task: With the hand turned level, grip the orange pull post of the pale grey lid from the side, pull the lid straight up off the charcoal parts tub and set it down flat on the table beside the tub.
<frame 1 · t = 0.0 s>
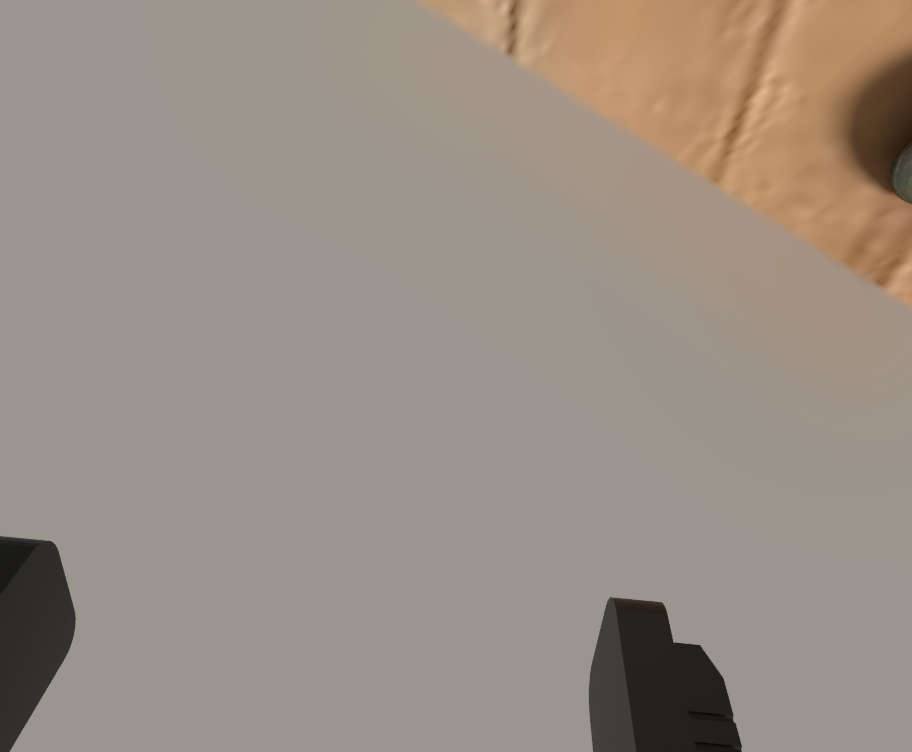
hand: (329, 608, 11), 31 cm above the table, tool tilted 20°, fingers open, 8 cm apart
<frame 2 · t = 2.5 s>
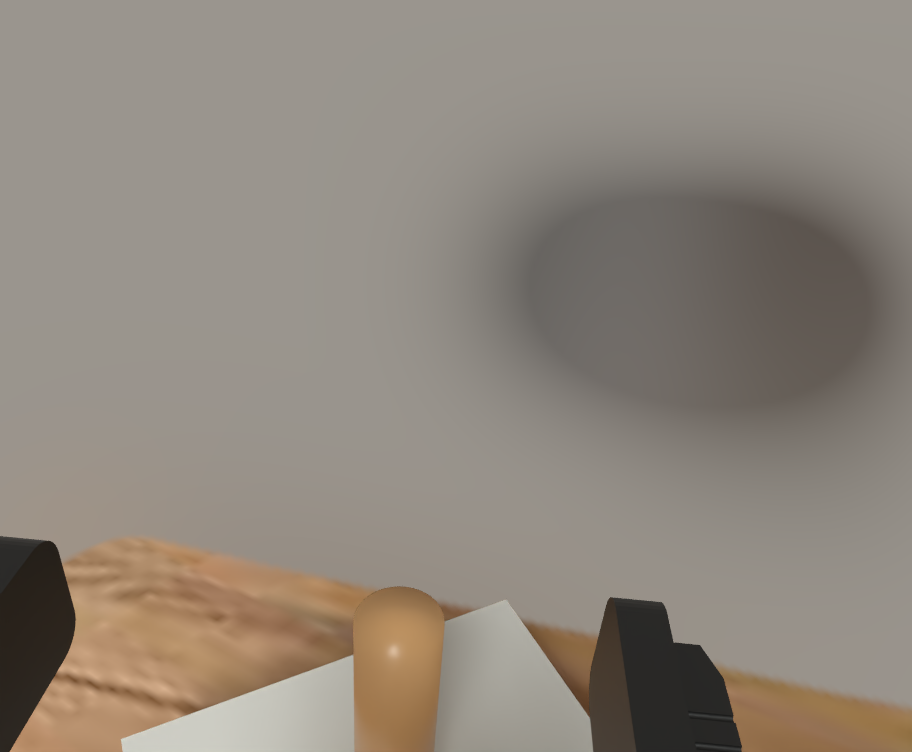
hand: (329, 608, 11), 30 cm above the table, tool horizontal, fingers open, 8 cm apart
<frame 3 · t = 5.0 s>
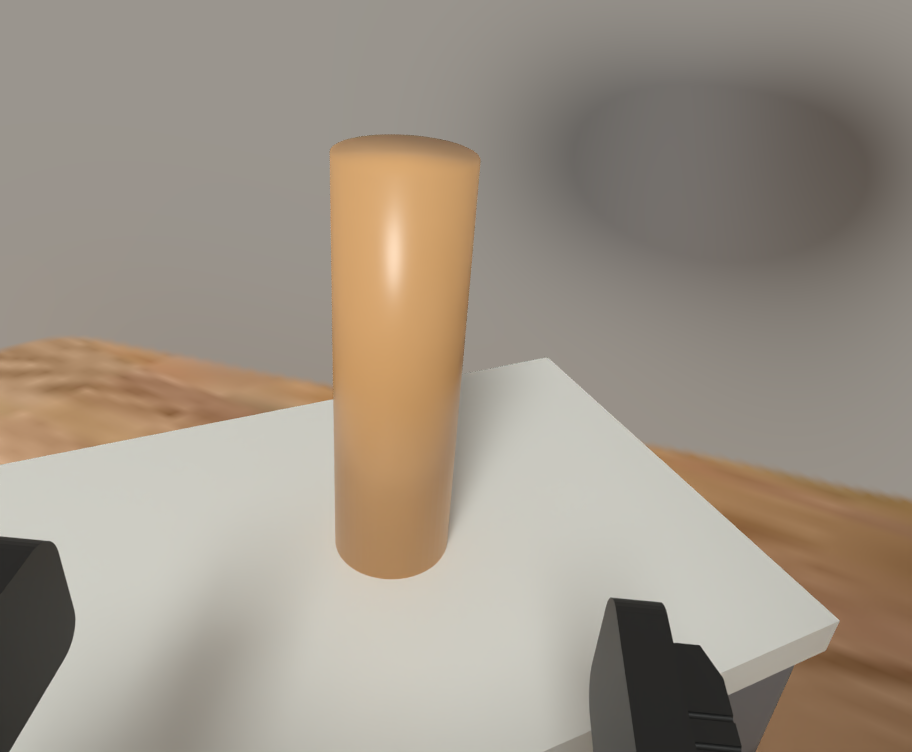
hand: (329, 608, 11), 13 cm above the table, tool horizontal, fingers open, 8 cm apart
tub lid: (390, 567, 23), point 5 cm above the table, touching parts tub
parts tub: (386, 677, 26), on the table
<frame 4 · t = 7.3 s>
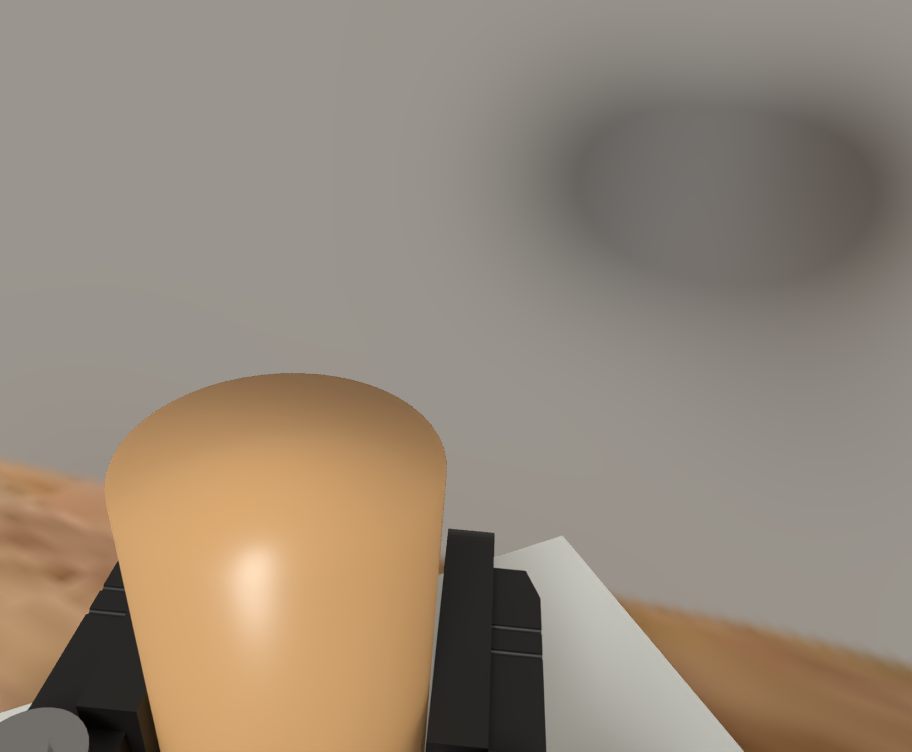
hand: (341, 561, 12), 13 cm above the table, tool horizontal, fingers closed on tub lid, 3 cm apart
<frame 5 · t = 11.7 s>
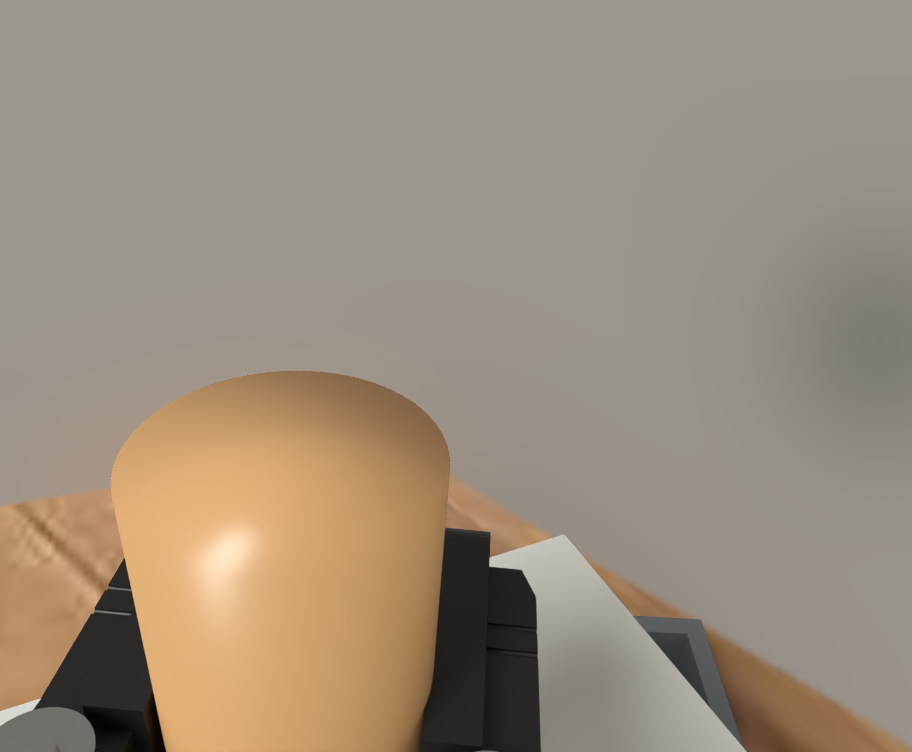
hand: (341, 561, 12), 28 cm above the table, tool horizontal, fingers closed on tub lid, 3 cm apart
when the fingers open (11 cm above the table, at t = 16.0 s): tub lid drops 2 cm, point 1 cm above the table.
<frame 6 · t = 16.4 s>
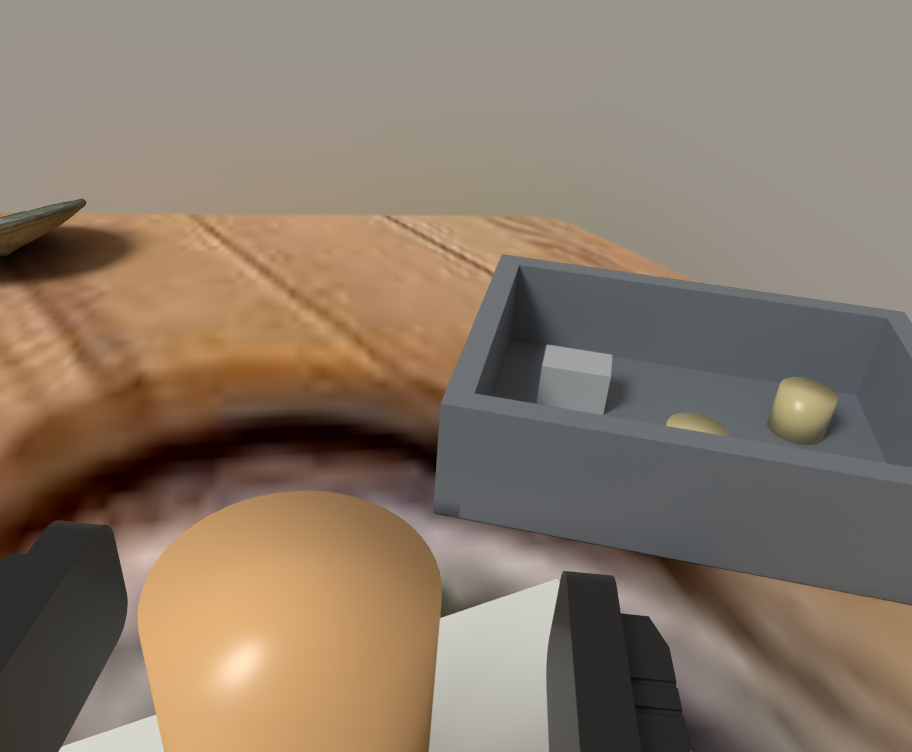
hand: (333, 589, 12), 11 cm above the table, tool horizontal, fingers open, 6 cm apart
parts tub: (679, 449, 34), on the table
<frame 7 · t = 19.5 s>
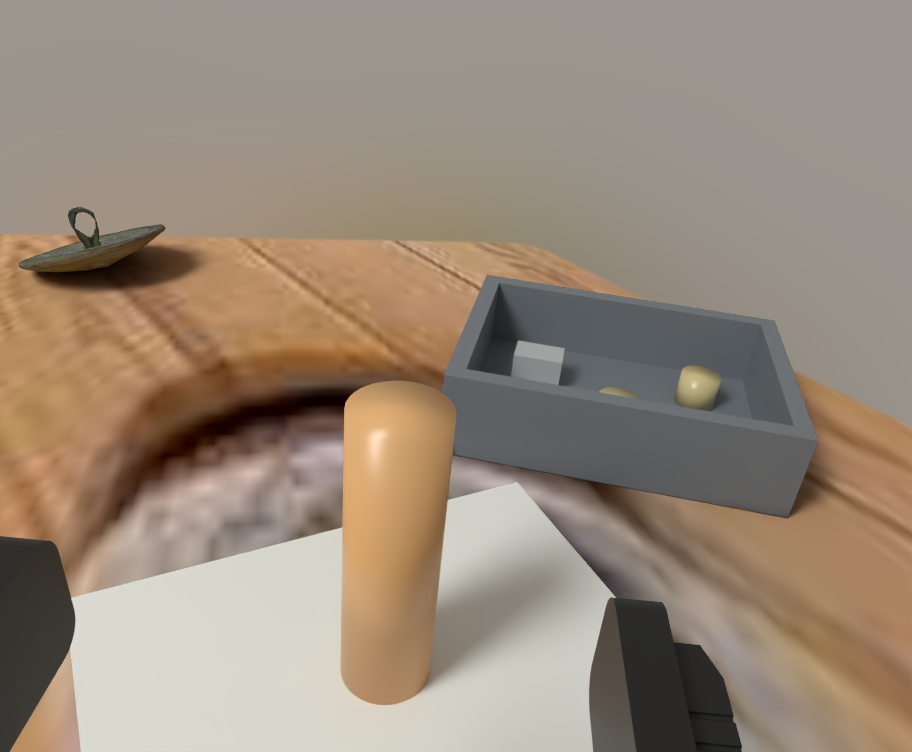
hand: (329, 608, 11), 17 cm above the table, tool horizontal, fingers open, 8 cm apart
tub lid: (384, 687, 28), point 1 cm above the table
parts tub: (610, 415, 48), on the table
lid: (97, 274, 60), on the table
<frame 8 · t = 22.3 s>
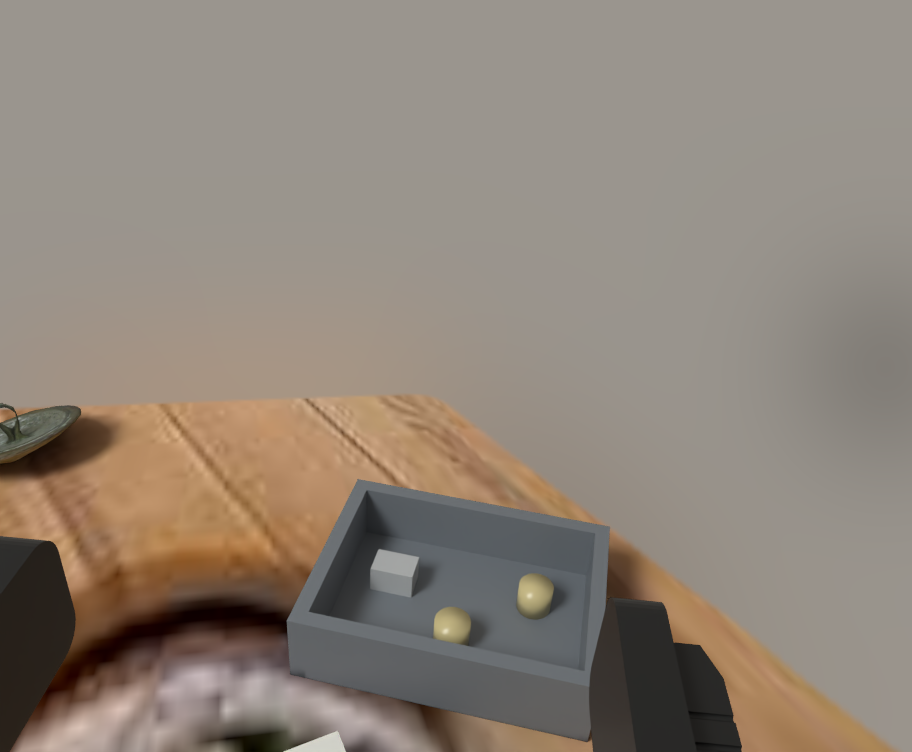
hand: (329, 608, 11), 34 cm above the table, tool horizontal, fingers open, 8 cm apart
parts tub: (457, 621, 54), on the table
lid: (21, 456, 67), on the table
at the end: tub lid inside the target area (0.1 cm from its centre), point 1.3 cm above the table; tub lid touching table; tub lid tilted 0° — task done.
